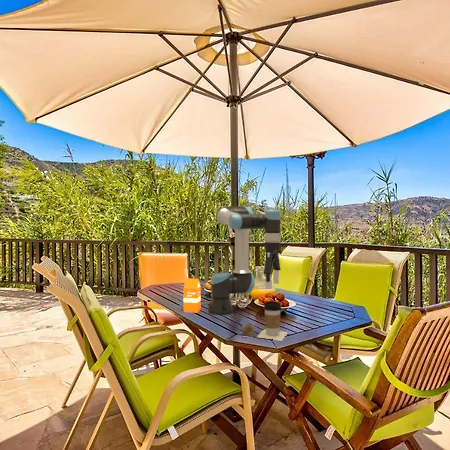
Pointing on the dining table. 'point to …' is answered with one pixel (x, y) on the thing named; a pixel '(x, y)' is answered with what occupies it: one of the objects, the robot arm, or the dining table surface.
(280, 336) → the coaster
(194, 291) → the orange juice
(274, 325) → the coffee cup
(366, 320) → the dining table surface
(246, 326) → the walnut cube
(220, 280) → the robot arm
